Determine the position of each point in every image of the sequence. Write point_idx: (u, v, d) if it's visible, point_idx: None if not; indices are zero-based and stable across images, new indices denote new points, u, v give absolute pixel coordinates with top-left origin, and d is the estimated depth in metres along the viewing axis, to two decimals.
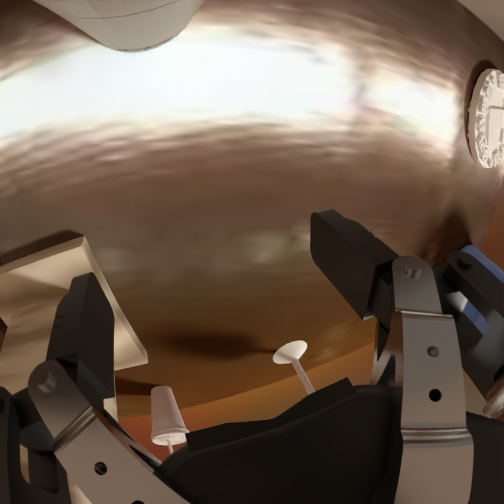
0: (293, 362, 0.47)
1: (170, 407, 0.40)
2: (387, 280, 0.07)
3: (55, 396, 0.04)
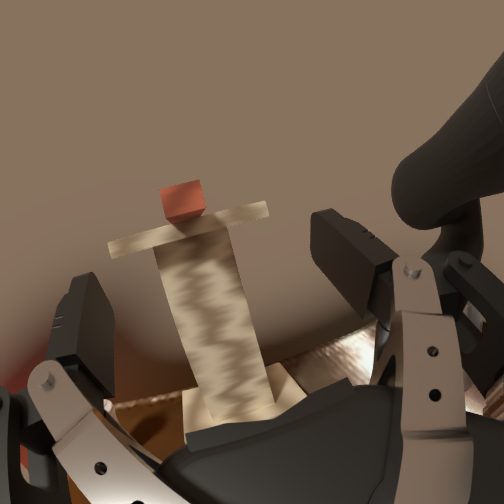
0: None
1: None
2: (387, 280, 0.07)
3: (55, 396, 0.04)
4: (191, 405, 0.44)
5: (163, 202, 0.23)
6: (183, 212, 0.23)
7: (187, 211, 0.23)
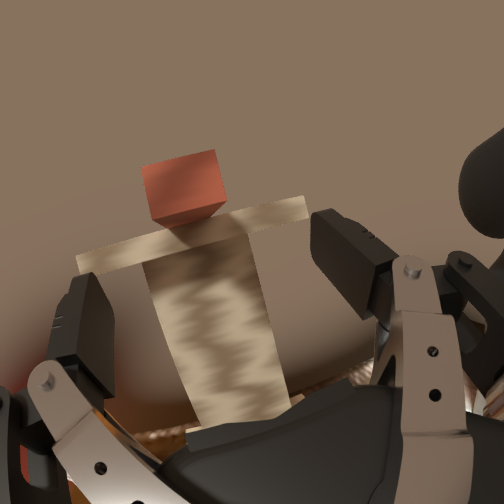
0: None
1: None
2: (387, 280, 0.07)
3: (55, 396, 0.04)
4: None
5: (148, 190, 0.12)
6: (185, 209, 0.13)
7: (192, 207, 0.13)
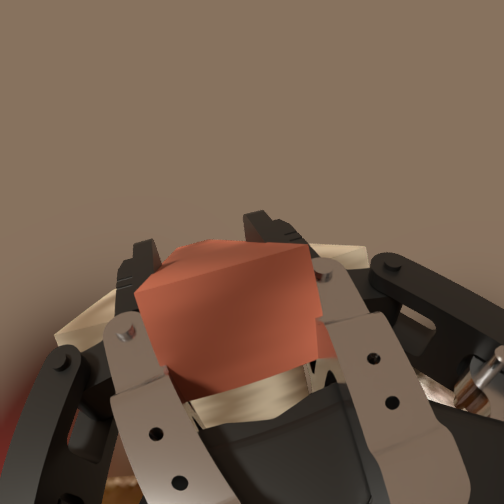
0: None
1: None
2: None
3: (131, 348, 0.06)
4: None
5: (158, 347, 0.05)
6: (245, 380, 0.06)
7: (261, 375, 0.06)
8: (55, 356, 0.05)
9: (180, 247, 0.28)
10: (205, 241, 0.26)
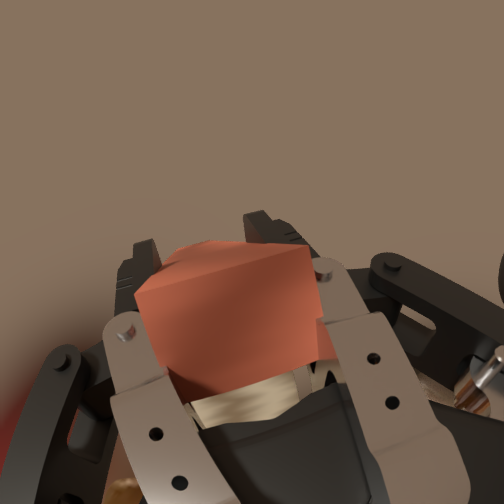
0: None
1: None
2: None
3: (131, 348, 0.06)
4: None
5: (159, 348, 0.05)
6: (246, 381, 0.06)
7: (262, 376, 0.06)
8: (55, 356, 0.05)
9: (180, 248, 0.28)
10: (205, 242, 0.26)
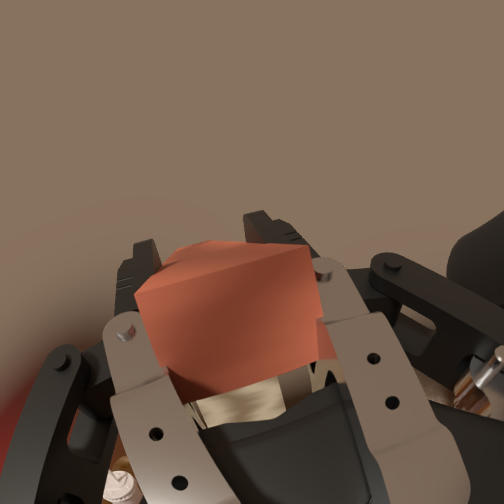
0: None
1: None
2: None
3: (131, 348, 0.06)
4: None
5: (159, 349, 0.05)
6: (246, 381, 0.06)
7: (262, 377, 0.06)
8: (55, 355, 0.05)
9: (180, 248, 0.28)
10: (205, 242, 0.26)
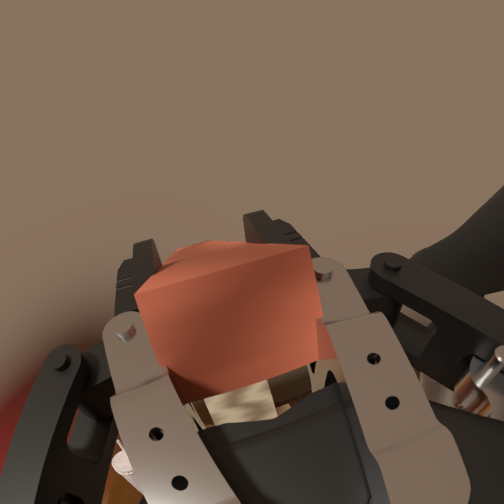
0: None
1: None
2: None
3: (131, 348, 0.06)
4: None
5: (159, 349, 0.05)
6: (246, 381, 0.06)
7: (262, 377, 0.06)
8: (55, 355, 0.05)
9: (180, 248, 0.28)
10: (205, 242, 0.26)
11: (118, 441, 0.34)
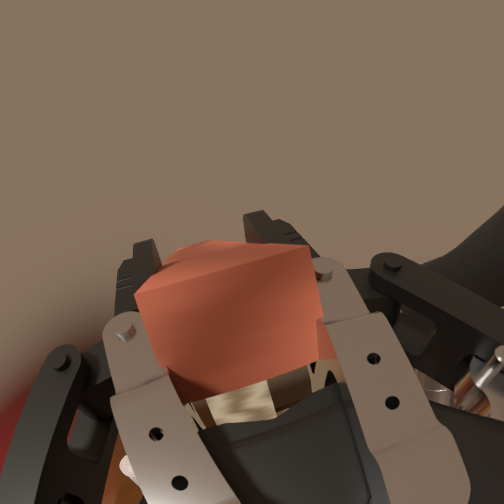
0: None
1: None
2: None
3: (131, 348, 0.06)
4: None
5: (158, 349, 0.05)
6: (246, 381, 0.06)
7: (262, 377, 0.06)
8: (55, 356, 0.05)
9: (180, 248, 0.28)
10: (205, 242, 0.26)
11: None
